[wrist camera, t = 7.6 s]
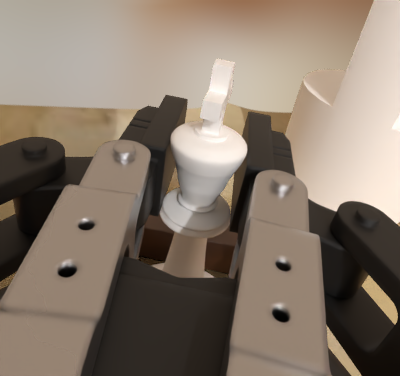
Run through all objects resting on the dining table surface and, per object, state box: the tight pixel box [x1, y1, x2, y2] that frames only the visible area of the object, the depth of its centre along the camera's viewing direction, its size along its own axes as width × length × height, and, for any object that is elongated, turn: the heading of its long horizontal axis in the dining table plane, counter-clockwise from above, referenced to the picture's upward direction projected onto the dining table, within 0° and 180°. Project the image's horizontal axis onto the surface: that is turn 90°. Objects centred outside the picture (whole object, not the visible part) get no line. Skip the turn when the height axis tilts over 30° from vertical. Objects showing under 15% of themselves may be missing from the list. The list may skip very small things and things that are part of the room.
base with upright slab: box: [285, 0, 400, 224], centre depth 21 cm, size 9×9×12 cm
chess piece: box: [151, 58, 247, 278], centre depth 11 cm, size 5×5×10 cm
